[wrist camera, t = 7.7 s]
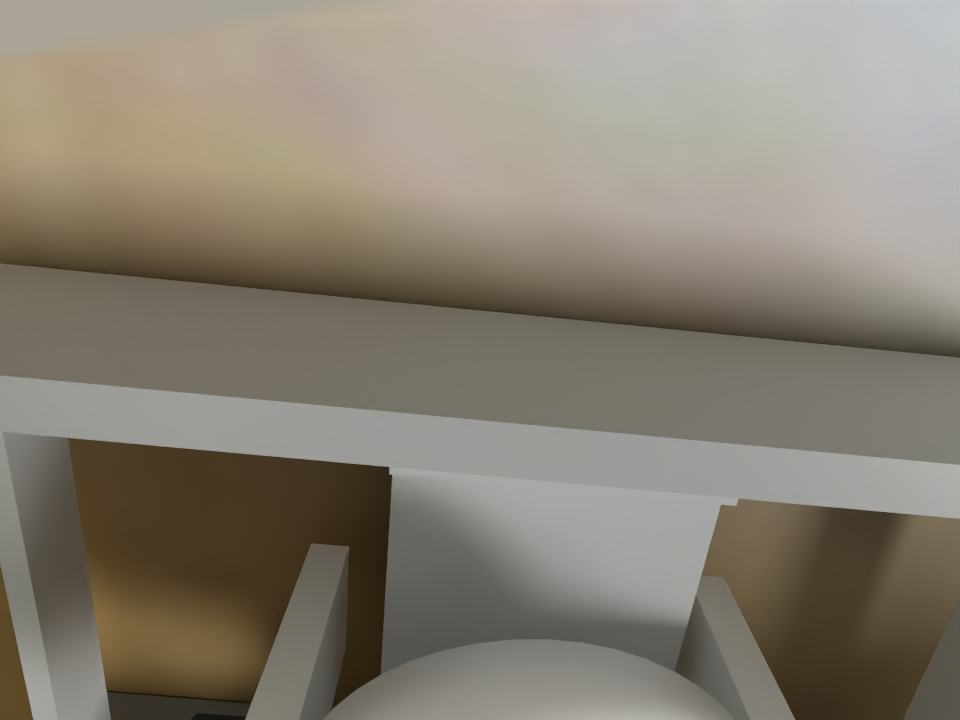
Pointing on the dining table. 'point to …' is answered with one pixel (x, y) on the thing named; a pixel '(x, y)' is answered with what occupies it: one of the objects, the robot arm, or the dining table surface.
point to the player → (168, 707)
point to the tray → (456, 453)
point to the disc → (530, 686)
